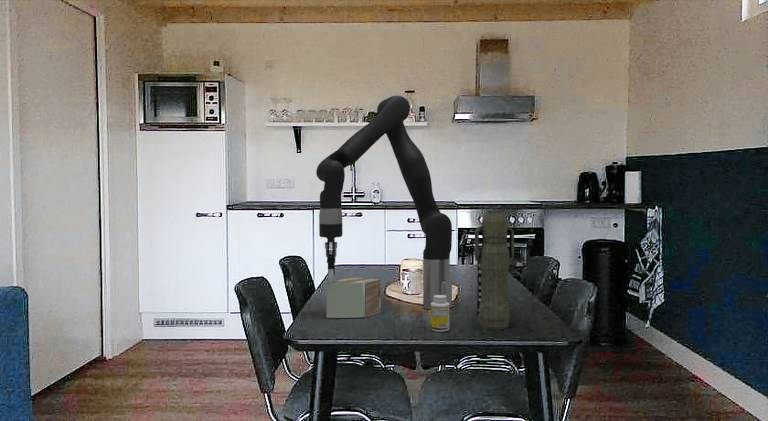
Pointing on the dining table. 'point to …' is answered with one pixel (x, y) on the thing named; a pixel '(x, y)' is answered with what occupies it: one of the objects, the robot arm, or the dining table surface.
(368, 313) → the birch box
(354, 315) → the grey-green rectangular panel
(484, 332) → the dining table surface
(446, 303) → the supplement bottle
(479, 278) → the white-spotted black cylinder
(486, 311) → the thermos
